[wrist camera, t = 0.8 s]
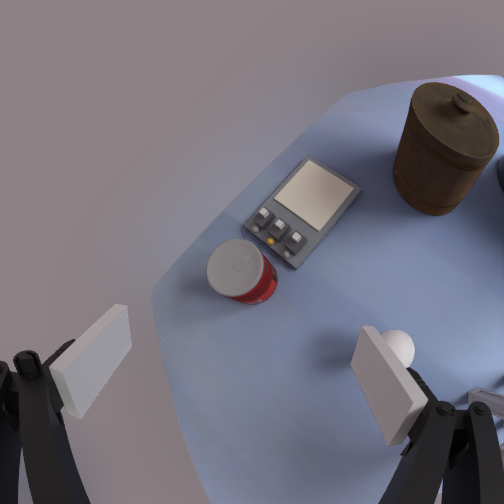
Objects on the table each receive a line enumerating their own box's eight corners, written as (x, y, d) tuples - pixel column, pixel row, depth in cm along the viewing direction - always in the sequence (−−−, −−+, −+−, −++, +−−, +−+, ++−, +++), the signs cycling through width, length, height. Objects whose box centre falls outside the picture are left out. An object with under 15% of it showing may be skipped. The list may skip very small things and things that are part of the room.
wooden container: (471, 182, 39) (517, 109, 19) (438, 232, 39) (495, 162, 19) (416, 137, 45) (436, 52, 25) (377, 178, 45) (393, 87, 25)
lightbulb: (355, 345, 38) (363, 349, 28) (386, 322, 38) (404, 318, 28) (374, 376, 36) (388, 389, 26) (406, 352, 36) (429, 358, 26)
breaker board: (308, 158, 50) (306, 145, 46) (361, 191, 45) (362, 179, 41) (245, 227, 49) (238, 218, 45) (297, 269, 45) (293, 263, 41)
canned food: (288, 277, 45) (274, 260, 34) (256, 315, 44) (233, 309, 34) (254, 250, 48) (232, 227, 38) (224, 285, 47) (195, 271, 37)
